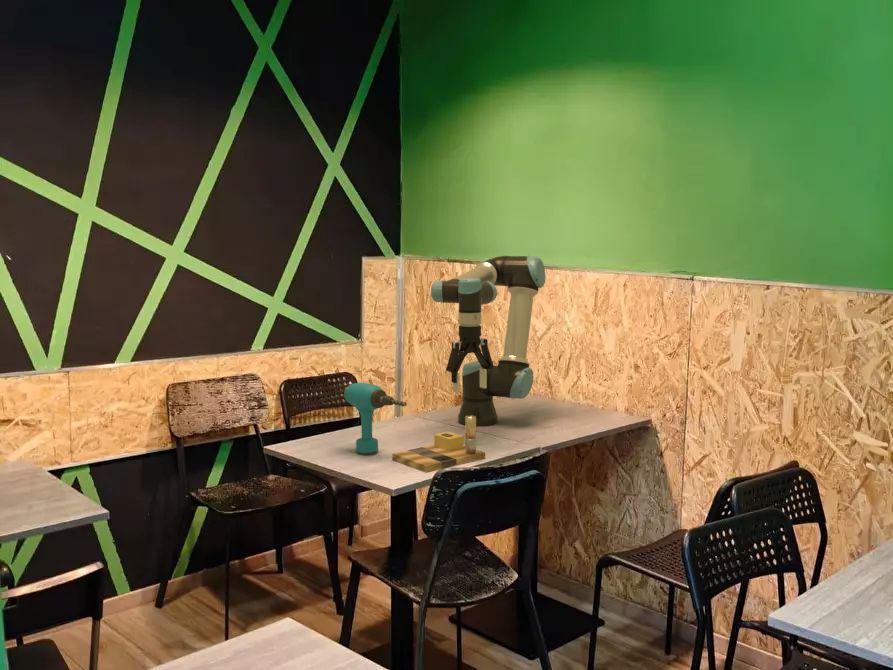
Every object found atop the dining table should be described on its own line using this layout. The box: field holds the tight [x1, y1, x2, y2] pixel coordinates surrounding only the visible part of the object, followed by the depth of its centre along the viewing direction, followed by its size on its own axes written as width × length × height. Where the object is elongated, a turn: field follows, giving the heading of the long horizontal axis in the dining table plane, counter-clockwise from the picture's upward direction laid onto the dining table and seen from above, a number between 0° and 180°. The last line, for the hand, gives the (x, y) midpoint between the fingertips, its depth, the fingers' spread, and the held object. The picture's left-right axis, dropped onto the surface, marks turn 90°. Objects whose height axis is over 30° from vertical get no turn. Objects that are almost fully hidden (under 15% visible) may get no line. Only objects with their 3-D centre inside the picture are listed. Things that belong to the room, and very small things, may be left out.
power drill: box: [343, 382, 408, 456], centre depth 277 cm, size 28×9×23 cm, turn 48°
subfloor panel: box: [391, 444, 486, 473], centre depth 274 cm, size 18×24×2 cm
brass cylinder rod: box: [464, 415, 477, 454], centre depth 273 cm, size 3×3×12 cm
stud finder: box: [433, 431, 465, 451], centre depth 281 cm, size 8×6×4 cm
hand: (469, 389), depth 284 cm, fingers open, 11 cm apart
